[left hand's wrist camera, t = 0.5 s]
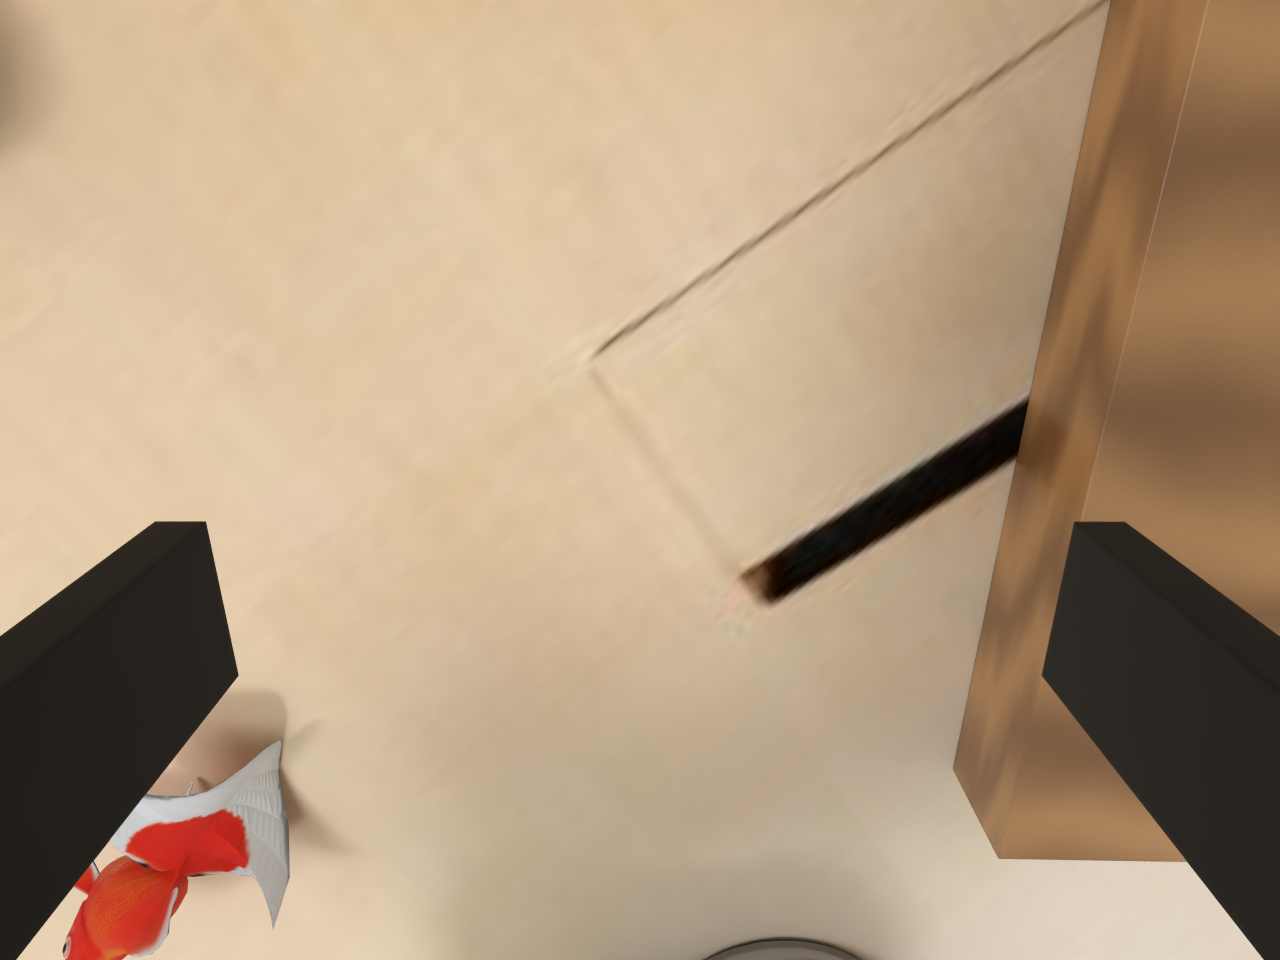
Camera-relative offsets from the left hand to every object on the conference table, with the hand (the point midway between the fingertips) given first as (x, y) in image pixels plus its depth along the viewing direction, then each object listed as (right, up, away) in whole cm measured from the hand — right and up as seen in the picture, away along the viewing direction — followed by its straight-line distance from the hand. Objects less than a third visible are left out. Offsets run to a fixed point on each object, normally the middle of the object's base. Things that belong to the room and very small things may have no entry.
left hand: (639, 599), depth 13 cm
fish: (-25, -16, +34) cm, 45 cm away
